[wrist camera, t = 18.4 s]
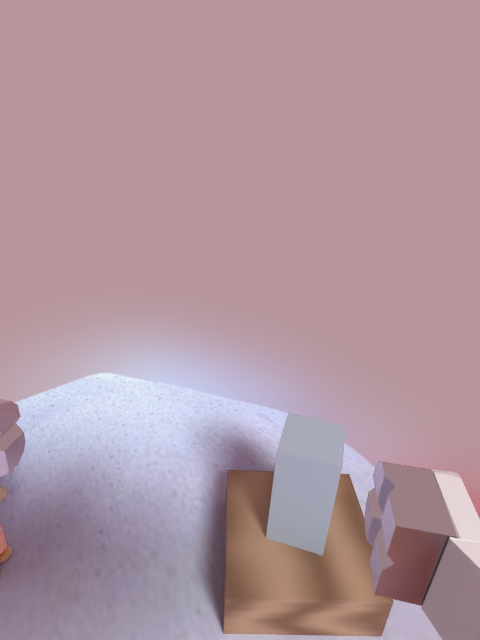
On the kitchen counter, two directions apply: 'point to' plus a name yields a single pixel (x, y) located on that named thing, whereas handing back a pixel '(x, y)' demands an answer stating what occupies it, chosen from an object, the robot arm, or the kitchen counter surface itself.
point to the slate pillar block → (305, 482)
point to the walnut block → (297, 569)
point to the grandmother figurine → (3, 551)
